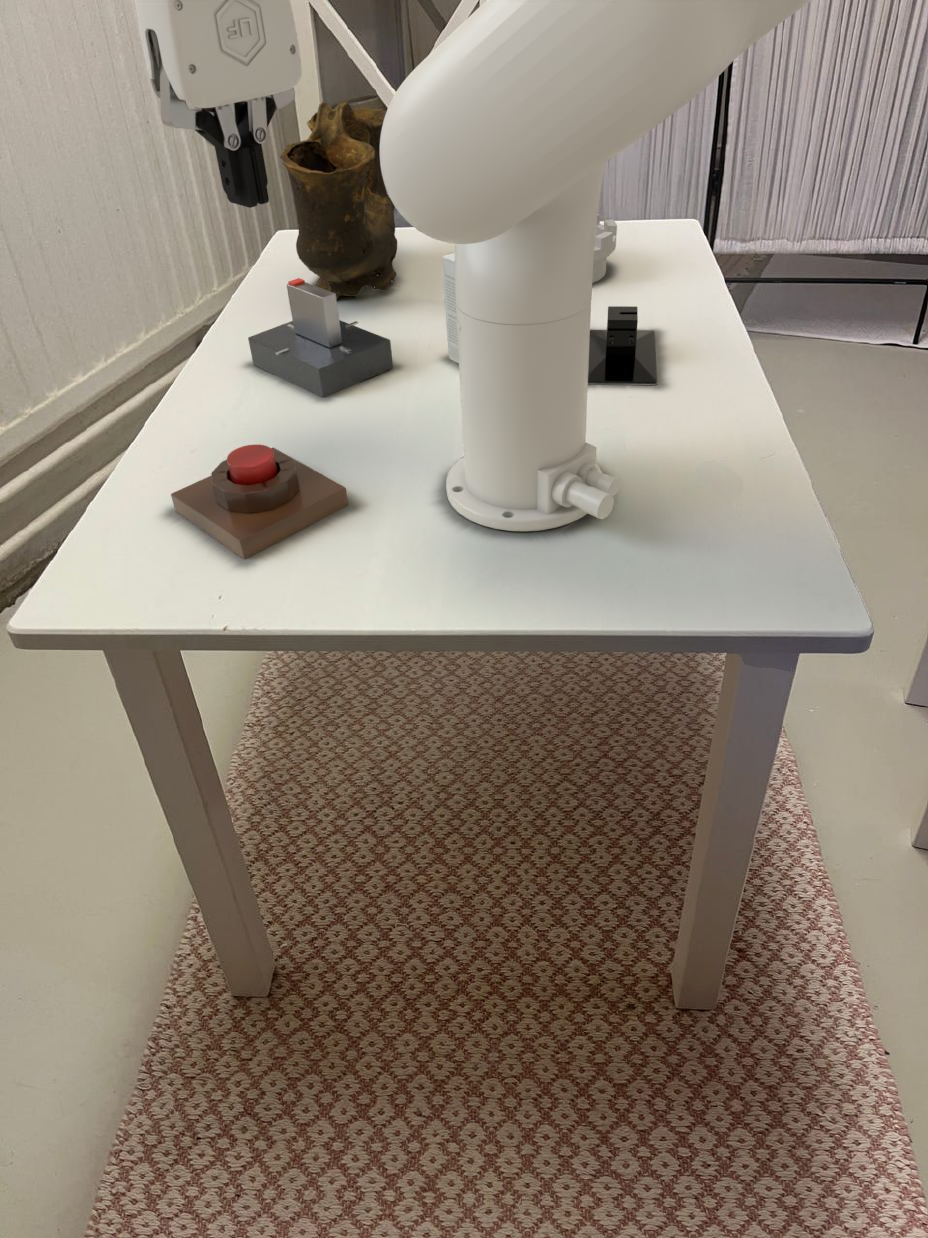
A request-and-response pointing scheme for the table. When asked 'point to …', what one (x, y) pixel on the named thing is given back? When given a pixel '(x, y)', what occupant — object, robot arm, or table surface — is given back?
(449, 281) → the small box
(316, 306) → the grey rectangular block
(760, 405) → the table surface
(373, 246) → the pottery vessel
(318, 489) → the button block
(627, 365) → the black stand
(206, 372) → the table surface
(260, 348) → the dial switch base
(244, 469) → the button
